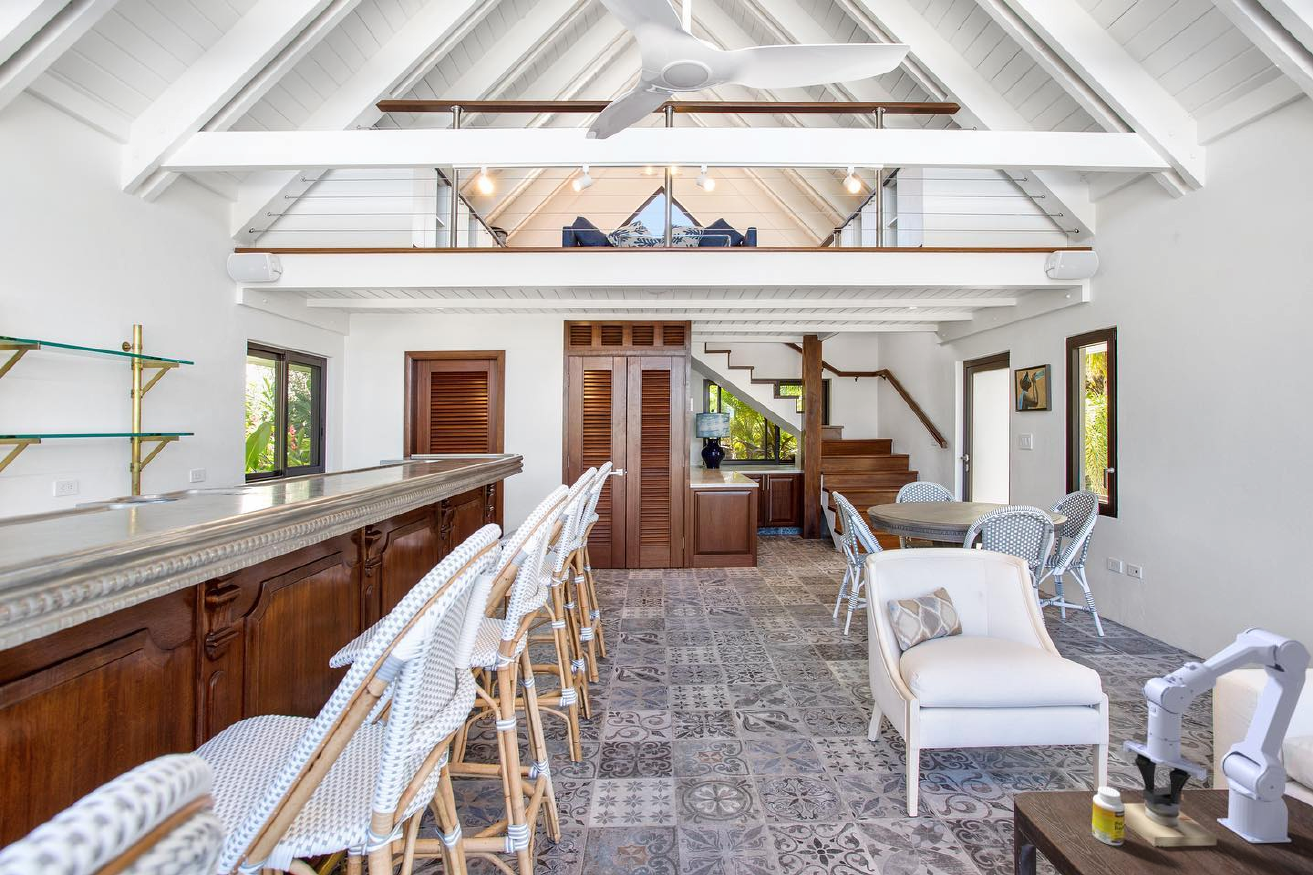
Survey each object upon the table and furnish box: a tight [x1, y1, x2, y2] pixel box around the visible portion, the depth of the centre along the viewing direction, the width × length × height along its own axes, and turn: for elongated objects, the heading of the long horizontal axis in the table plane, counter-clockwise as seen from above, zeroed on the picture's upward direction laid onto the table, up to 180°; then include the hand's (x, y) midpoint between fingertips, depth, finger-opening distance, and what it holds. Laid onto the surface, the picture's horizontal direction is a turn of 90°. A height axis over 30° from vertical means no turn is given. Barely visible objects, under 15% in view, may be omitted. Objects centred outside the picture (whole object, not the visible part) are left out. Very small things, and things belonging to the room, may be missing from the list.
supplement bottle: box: [1091, 786, 1125, 846], centre depth 137 cm, size 6×6×10 cm
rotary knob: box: [1142, 786, 1185, 817], centre depth 141 cm, size 6×8×4 cm
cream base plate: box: [1123, 802, 1218, 848], centre depth 141 cm, size 14×12×4 cm
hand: (1161, 796), depth 141 cm, fingers closed on rotary knob, 4 cm apart
